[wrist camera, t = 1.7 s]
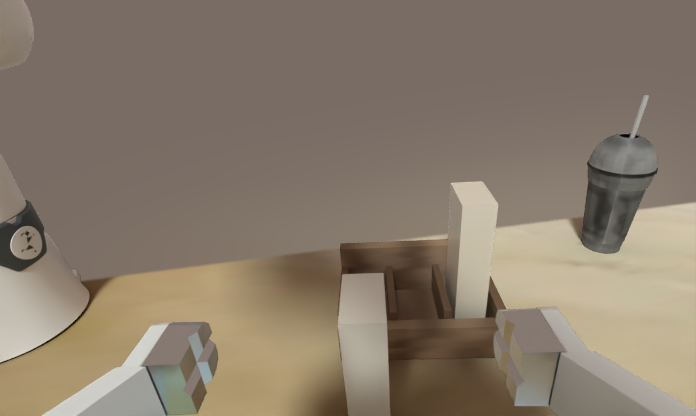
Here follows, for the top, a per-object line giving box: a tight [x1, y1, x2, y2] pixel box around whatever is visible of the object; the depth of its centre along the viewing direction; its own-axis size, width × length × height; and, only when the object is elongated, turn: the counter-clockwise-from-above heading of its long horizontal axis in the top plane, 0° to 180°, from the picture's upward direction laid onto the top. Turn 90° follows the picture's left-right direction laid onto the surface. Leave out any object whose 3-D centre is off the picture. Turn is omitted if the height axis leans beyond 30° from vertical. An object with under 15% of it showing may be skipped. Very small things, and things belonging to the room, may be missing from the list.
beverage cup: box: [582, 95, 658, 253], centre depth 48 cm, size 7×7×20 cm
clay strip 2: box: [445, 181, 498, 319], centre depth 38 cm, size 3×5×14 cm, turn 178°
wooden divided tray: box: [338, 239, 506, 361], centre depth 40 cm, size 16×10×8 cm, turn 88°
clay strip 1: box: [338, 273, 390, 416], centre depth 28 cm, size 3×5×14 cm, turn 178°
